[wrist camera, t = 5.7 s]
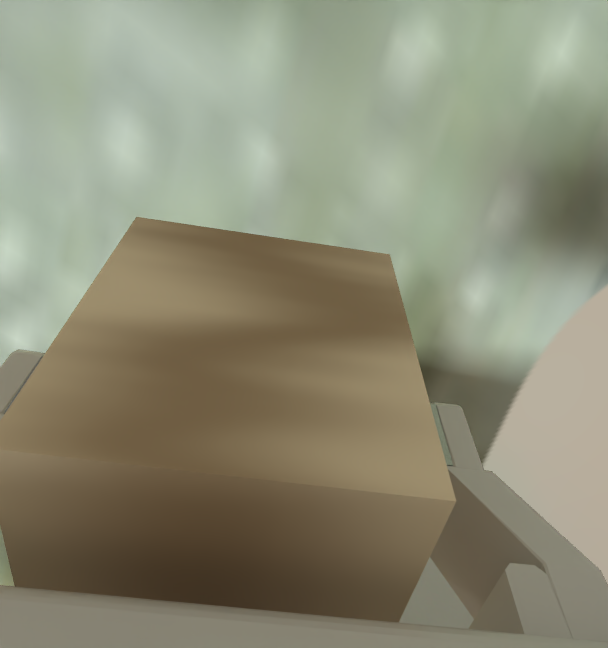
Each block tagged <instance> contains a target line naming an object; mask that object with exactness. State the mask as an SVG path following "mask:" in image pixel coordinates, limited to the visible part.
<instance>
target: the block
mask: <svg viewBox="0 0 608 648" xmlns="http://www.w3.org/2000/svg"><path fill="white" fill-rule="evenodd" d="M455 503H456V498H455V494H454V491H453V487H452V483H451V479H450V476H449V472H448V468H447V465H446V461H445V457H444V454H443V450H442V446H441V442H440V439H439V435H438V431H437V428H436V424H435V420H434V417H433V413H432V409H431V405H430V402H429V398H428V394H427V391H426V387H425V383H424V380H423V376H422V372H421V368H420V365H419V361H418V357H417V354H416V350H415V346H414V343H413V339H412V335H411V331H410V328H409V324H408V320H407V317H406V313H405V309H404V306H403V302H402V298H401V294H400V291H399V287H398V283H397V280H396V276H395V272H394V269H393V265H392V261H391V257H390V254H383V253H376V252H369V251H363V250H356V249H349V248H342V247H336V246H329V245H322V244H315V243H309V242H302V241H295V240H289V239H282V238H275V237H268V236H262V235H255V234H248V233H241V232H235V231H228V230H221V229H214V228H208V227H201V226H194V225H187V224H181V223H174V222H167V221H161V220H154V219H147V218H140V217H136V218H135V220H134V221H133V223H132V224H131V226H130V227H129V229H128V230H127V232H126V233H125V235H124V236H123V238H122V239H121V241H120V242H119V244H118V245H117V247H116V248H115V250H114V251H113V253H112V254H111V256H110V257H109V259H108V260H107V262H106V263H105V265H104V266H103V268H102V269H101V271H100V272H99V274H98V275H97V277H96V278H95V280H94V281H93V283H92V284H91V286H90V287H89V289H88V290H87V292H86V293H85V295H84V296H83V298H82V299H81V301H80V302H79V304H78V305H77V307H76V308H75V310H74V311H73V313H72V314H71V316H70V317H69V319H68V320H67V322H66V323H65V325H64V326H63V328H62V329H61V331H60V332H59V334H58V335H57V337H56V338H55V340H54V341H53V343H52V344H51V346H50V347H49V349H48V350H47V352H46V353H45V355H44V356H43V358H42V359H41V361H40V362H39V364H38V365H37V367H36V368H35V370H34V371H33V373H32V374H31V376H30V377H29V379H28V380H27V382H26V383H25V385H24V386H23V388H22V389H21V391H20V392H19V394H18V395H17V397H16V398H15V400H14V401H13V402H12V404H11V405H10V407H9V408H8V410H7V411H6V413H5V414H4V416H3V417H2V419H1V420H0V525H1V530H2V534H3V538H4V542H5V547H6V551H7V555H8V559H9V564H10V568H11V572H12V576H13V581H14V585H15V587H25V588H35V589H46V590H57V591H67V592H78V593H89V594H99V595H110V596H121V597H131V598H142V599H152V600H163V601H174V602H184V603H195V604H205V605H216V606H227V607H237V608H248V609H258V610H269V611H280V612H290V613H301V614H312V615H323V616H334V617H345V618H356V619H367V620H377V621H388V622H399V621H400V618H401V616H402V614H403V612H404V610H405V608H406V606H407V604H408V602H409V600H410V597H411V595H412V593H413V591H414V589H415V587H416V585H417V583H418V581H419V579H420V577H421V574H422V572H423V570H424V568H425V566H426V564H427V562H428V560H429V558H430V556H431V553H432V551H433V549H434V547H435V545H436V543H437V541H438V539H439V537H440V535H441V533H442V530H443V528H444V526H445V524H446V522H447V520H448V518H449V516H450V514H451V512H452V510H453V507H454V505H455Z"/></svg>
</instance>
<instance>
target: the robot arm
mask: <svg viewBox="0 0 608 648" xmlns="http://www.w3.org/2000/svg"><path fill="white" fill-rule="evenodd" d="M44 355H45V353H40V352H33V351H27V350H20V349H19V350H16V351H14V352H12V353H11V354H10V355H9V357H8V358H7V359H6V361H5V362H4V363H3V365H2V366H1V367H0V420H1V419H2V417H3V416H4V414H5V413H6V411H7V410H8V408H9V407H10V405H11V404H12V402H13V401H14V400H15V398H16V397H17V395H18V394H19V392H20V391H21V389H22V388H23V386H24V385H25V383H26V382H27V380H28V379H29V377H30V376H31V374H32V373H33V371H34V370H35V368H36V367H37V365H38V364H39V362H40V361H41V359H42V358H43V356H44ZM430 405H431V409H432V413H433V417H434V420H435V424H436V428H437V431H438V435H439V439H440V442H441V446H442V450H443V454H444V457H445V461H446V465H447V468H448V472H449V476H450V479H451V483H452V487H453V491H454V494H455V498H456V503H455V505H454V507H453V510H452V512H451V514H450V516H449V518H448V520H447V522H446V524H445V526H444V528H443V530H442V533H441V535H440V537H439V539H438V541H437V543H436V545H435V547H434V549H433V551H432V553H431V556H430V558H431V559H432V561H433V562H434V563H435V565H436V566H437V568H438V569H439V571H440V572H441V573H442V575H443V576H444V578H445V579H446V580H447V582H448V583H449V585H450V586H451V587H452V589H453V590H454V592H455V593H456V595H457V596H458V597H459V599H460V600H461V602H462V603H463V604H464V606H465V607H466V609H467V610H468V611H469V613H470V614H471V616H472V617H473V619H474V620H473V622H472V624H471V625H470V627H469V628H468V629H464V628H453V627H443V626H432V625H421V624H410V623H399V622H388V621H377V620H367V619H356V618H345V617H334V616H323V615H312V614H301V613H290V612H280V611H269V610H258V609H248V608H237V607H227V606H216V605H205V604H195V603H184V602H174V601H163V600H152V599H142V598H131V597H121V596H110V595H99V594H89V593H78V592H67V591H57V590H46V589H35V588H25V587H14V586H3V585H0V648H608V584H607V582H606V580H605V578H604V576H603V574H602V572H601V570H599V568H598V567H596V566H595V565H594V564H593V563H592V562H591V561H590V560H589V559H588V558H586V557H585V556H584V555H583V554H582V553H581V552H580V551H579V550H578V549H577V548H576V547H574V546H573V545H572V544H571V543H570V542H569V541H568V540H567V539H566V538H565V537H563V536H562V535H561V534H560V533H559V532H558V531H557V530H556V529H555V528H553V527H552V526H551V525H550V524H549V523H548V522H547V521H546V520H545V519H544V518H543V517H541V516H540V515H539V514H538V513H537V512H536V511H535V510H534V509H532V507H530V506H529V505H528V504H527V503H526V502H525V501H524V500H523V499H522V498H521V497H519V496H518V495H517V494H516V493H515V492H514V491H513V490H512V489H510V487H508V486H507V485H506V484H505V483H504V482H503V481H502V480H501V479H500V478H499V477H497V476H496V475H495V474H494V473H493V472H492V471H486V470H484V469H483V466H482V463H481V460H480V457H479V454H478V452H477V449H476V446H475V443H474V440H473V437H472V435H471V432H470V429H469V426H468V423H467V420H466V417H465V415H464V412H463V409H462V408H461V407H460V406H459V405H455V404H445V403H436V402H433V403H430Z"/></svg>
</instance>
